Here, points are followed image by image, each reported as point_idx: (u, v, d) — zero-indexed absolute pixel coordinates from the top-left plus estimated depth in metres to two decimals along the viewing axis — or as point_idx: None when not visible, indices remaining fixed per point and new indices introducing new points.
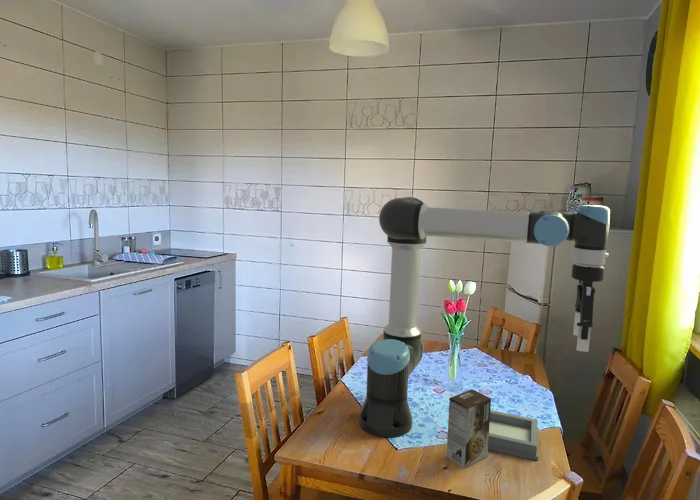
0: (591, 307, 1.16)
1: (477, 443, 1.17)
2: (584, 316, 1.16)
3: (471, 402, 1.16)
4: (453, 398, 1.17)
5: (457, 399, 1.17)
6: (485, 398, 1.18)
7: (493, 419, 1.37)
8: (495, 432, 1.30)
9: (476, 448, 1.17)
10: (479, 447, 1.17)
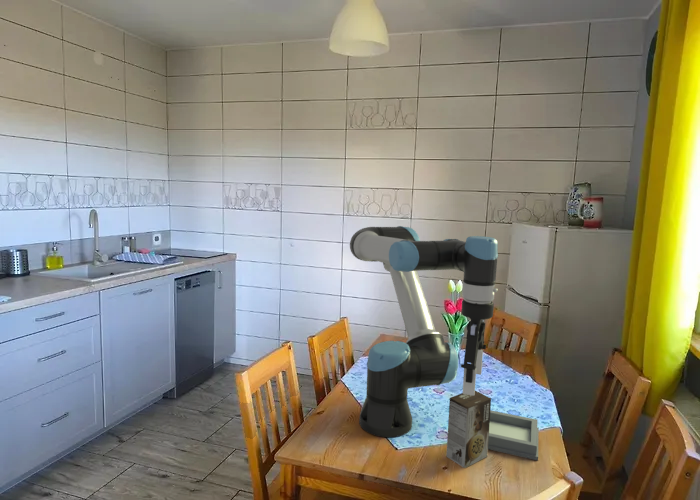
0: (474, 348, 1.08)
1: (477, 443, 1.17)
2: (467, 358, 1.07)
3: (471, 402, 1.16)
4: (453, 398, 1.17)
5: (457, 398, 1.17)
6: (485, 398, 1.18)
7: (493, 419, 1.37)
8: (495, 432, 1.30)
9: (476, 448, 1.17)
10: (479, 447, 1.17)
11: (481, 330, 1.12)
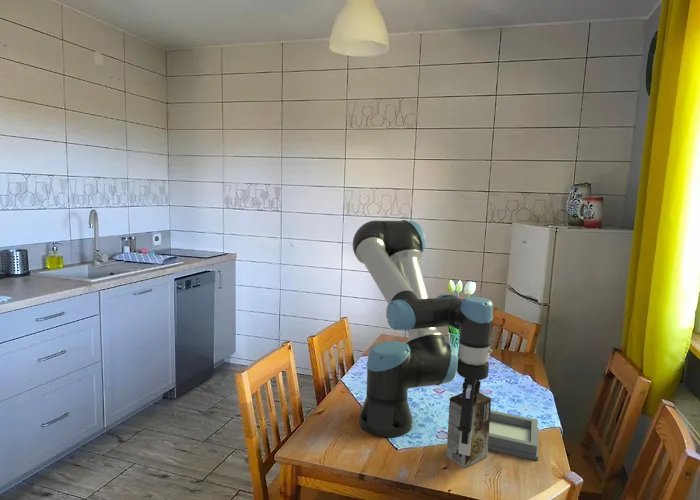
0: (470, 412, 1.11)
1: (477, 443, 1.17)
2: (462, 421, 1.11)
3: None
4: (453, 398, 1.17)
5: (457, 398, 1.17)
6: (485, 398, 1.18)
7: (493, 419, 1.37)
8: (495, 432, 1.30)
9: (476, 448, 1.17)
10: (479, 447, 1.17)
11: (476, 390, 1.15)
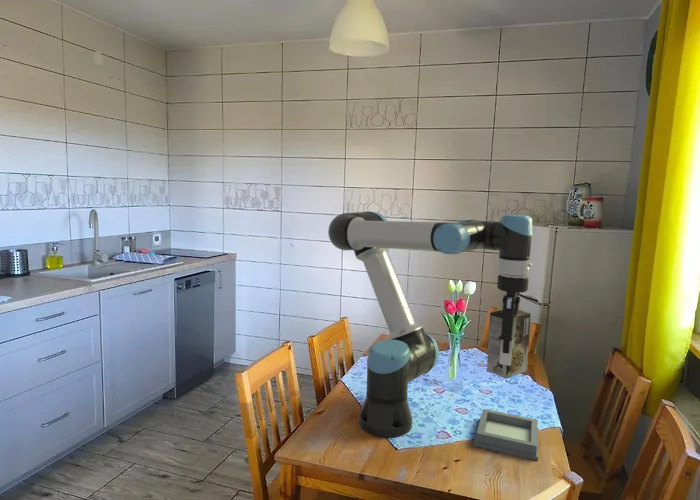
0: (511, 321, 1.15)
1: (517, 356, 1.21)
2: (504, 330, 1.15)
3: None
4: (494, 312, 1.22)
5: (498, 313, 1.21)
6: (525, 313, 1.22)
7: (493, 419, 1.37)
8: (495, 432, 1.30)
9: (517, 361, 1.21)
10: (519, 360, 1.22)
11: (516, 303, 1.19)
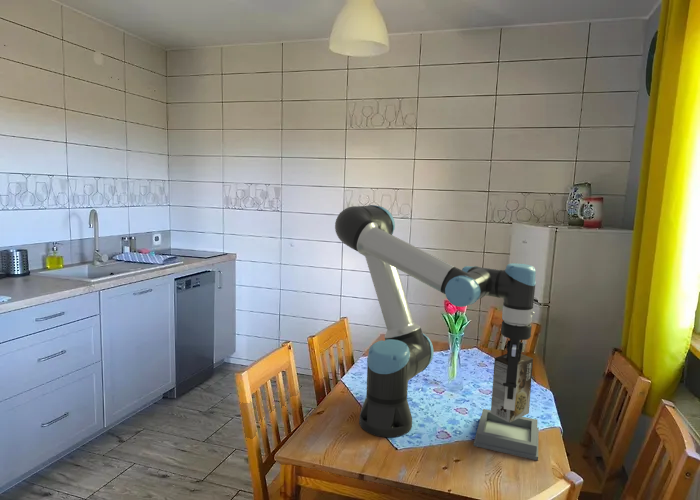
0: (515, 369, 1.19)
1: (520, 400, 1.25)
2: (508, 377, 1.19)
3: None
4: (498, 358, 1.26)
5: (502, 358, 1.25)
6: (528, 358, 1.26)
7: (493, 419, 1.37)
8: (495, 432, 1.30)
9: (520, 405, 1.25)
10: (522, 404, 1.26)
11: (520, 350, 1.23)
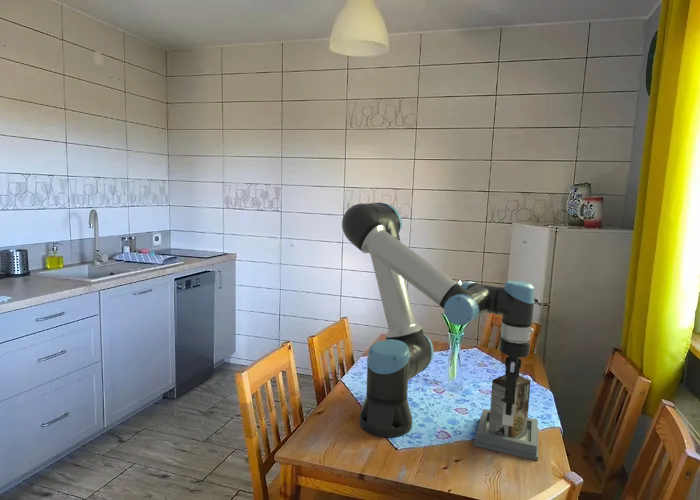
0: (514, 384, 1.19)
1: (518, 421, 1.26)
2: (507, 393, 1.19)
3: None
4: (496, 380, 1.26)
5: (499, 380, 1.26)
6: (525, 380, 1.27)
7: None
8: None
9: (517, 426, 1.26)
10: (520, 425, 1.27)
11: (519, 367, 1.24)
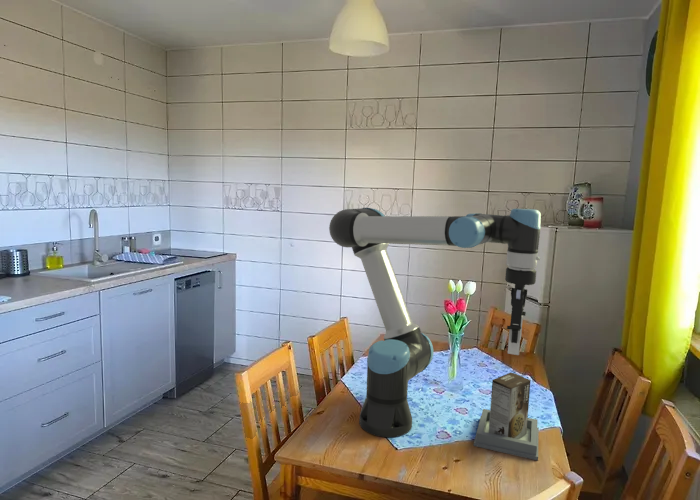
0: (520, 310, 1.16)
1: (518, 422, 1.26)
2: (513, 319, 1.16)
3: (513, 383, 1.25)
4: (496, 380, 1.26)
5: (500, 380, 1.26)
6: (525, 380, 1.27)
7: None
8: None
9: (517, 426, 1.26)
10: (520, 425, 1.27)
11: (525, 295, 1.21)
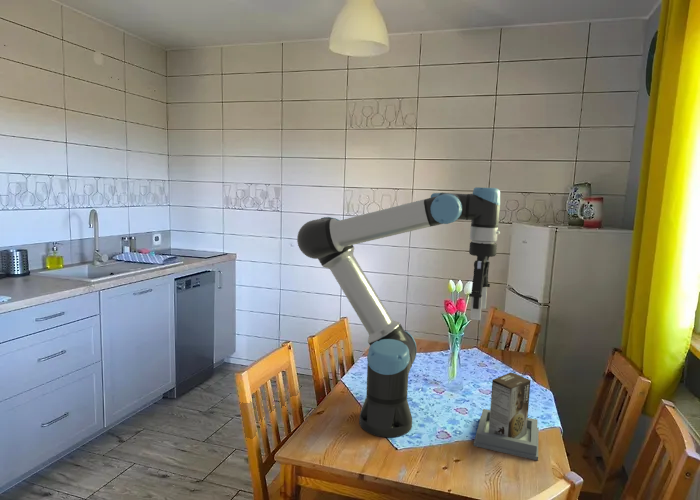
0: (480, 279, 1.28)
1: (518, 421, 1.26)
2: (474, 287, 1.28)
3: (513, 383, 1.25)
4: (496, 380, 1.26)
5: (499, 380, 1.26)
6: (525, 380, 1.27)
7: None
8: None
9: (517, 426, 1.26)
10: (520, 425, 1.27)
11: (486, 266, 1.33)
